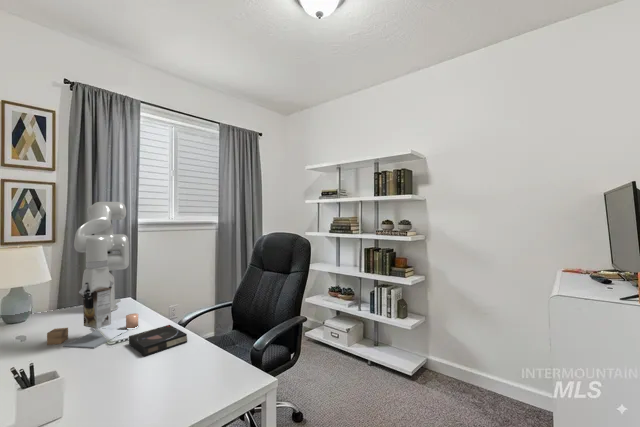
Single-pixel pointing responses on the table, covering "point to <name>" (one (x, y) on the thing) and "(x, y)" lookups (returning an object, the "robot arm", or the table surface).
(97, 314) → the coffee box
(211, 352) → the table surface
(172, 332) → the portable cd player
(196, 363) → the table surface
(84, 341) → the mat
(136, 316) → the terracotta cylinder
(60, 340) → the walnut block
